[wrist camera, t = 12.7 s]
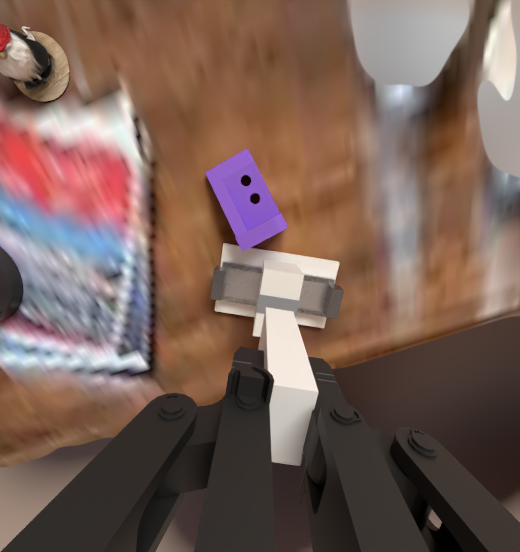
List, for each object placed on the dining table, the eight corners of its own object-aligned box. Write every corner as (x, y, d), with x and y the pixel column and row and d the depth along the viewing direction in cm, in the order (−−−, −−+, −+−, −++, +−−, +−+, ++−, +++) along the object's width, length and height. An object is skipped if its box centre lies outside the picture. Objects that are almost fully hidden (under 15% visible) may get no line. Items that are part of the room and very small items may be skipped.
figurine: (67, 105, 34) (-83, 43, 26) (63, 113, 41) (-55, 66, 33) (77, 32, 32) (-81, -57, 24) (71, 54, 39) (-52, -10, 32)
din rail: (214, 296, 42) (209, 304, 38) (219, 259, 41) (214, 263, 37) (329, 314, 43) (335, 324, 39) (337, 278, 41) (345, 285, 38)
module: (254, 315, 41) (252, 335, 34) (263, 259, 39) (263, 268, 32) (286, 320, 41) (290, 341, 35) (297, 264, 39) (304, 275, 33)
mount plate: (215, 308, 44) (214, 311, 43) (224, 242, 41) (223, 243, 40) (322, 325, 44) (324, 328, 43) (337, 261, 42) (339, 262, 41)
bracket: (285, 225, 41) (289, 227, 34) (245, 245, 42) (242, 251, 35) (248, 150, 39) (245, 137, 32) (207, 174, 39) (196, 166, 33)
